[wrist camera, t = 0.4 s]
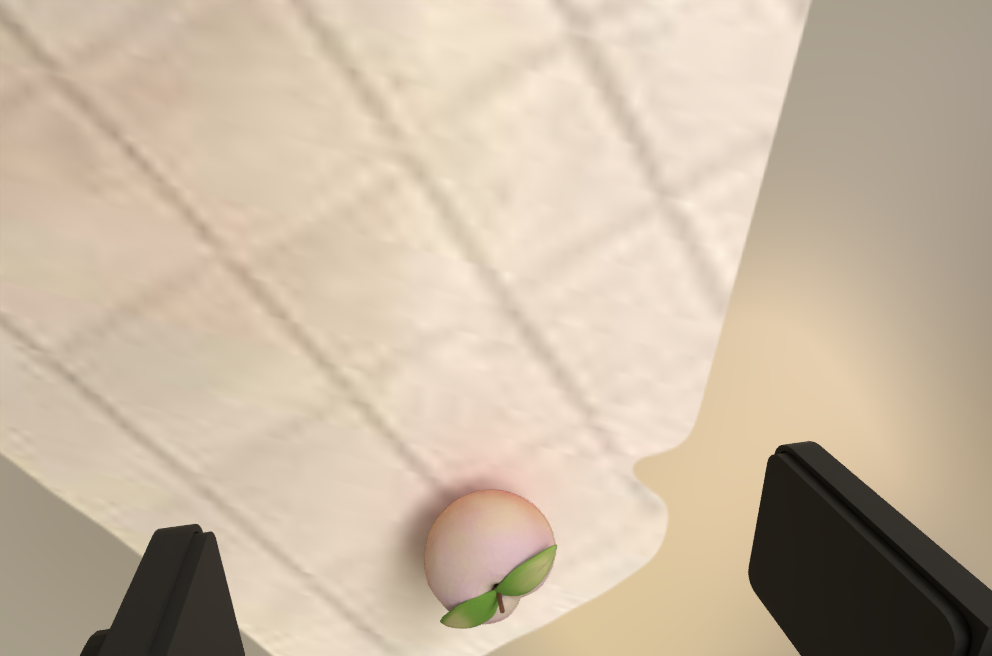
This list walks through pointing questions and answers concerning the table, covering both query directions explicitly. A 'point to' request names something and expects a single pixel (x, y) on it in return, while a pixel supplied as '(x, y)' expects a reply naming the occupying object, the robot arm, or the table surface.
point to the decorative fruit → (487, 556)
